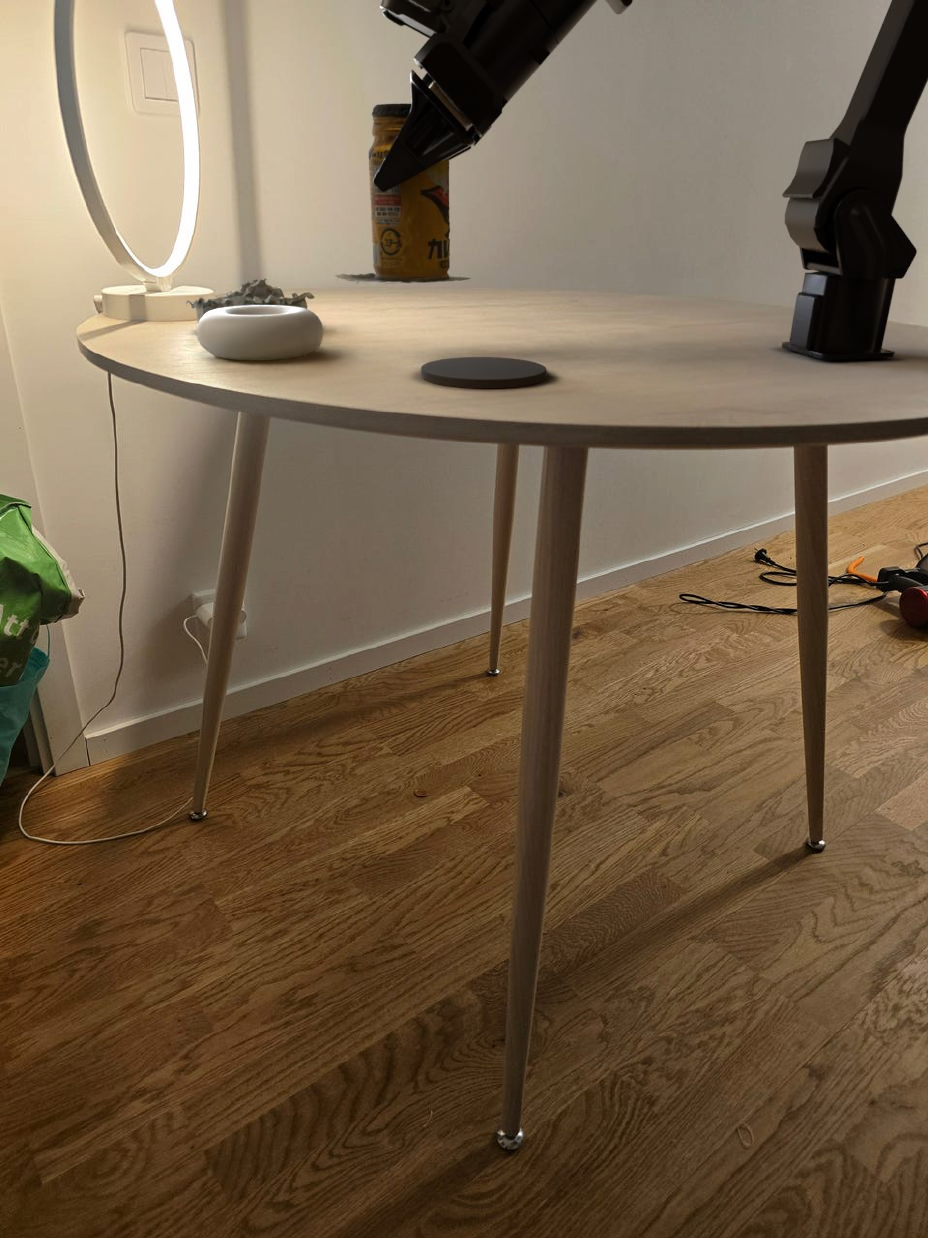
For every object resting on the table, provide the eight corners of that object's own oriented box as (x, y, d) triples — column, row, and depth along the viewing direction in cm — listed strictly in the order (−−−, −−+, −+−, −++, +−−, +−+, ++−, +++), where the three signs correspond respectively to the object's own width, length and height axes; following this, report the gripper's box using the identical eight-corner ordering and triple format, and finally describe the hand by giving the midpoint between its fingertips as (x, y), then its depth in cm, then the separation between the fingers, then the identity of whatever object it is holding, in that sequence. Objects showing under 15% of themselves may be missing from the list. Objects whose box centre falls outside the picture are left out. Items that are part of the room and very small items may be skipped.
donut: (241, 342, 77) (172, 358, 69) (238, 300, 76) (167, 311, 67) (345, 349, 74) (287, 366, 66) (343, 306, 73) (283, 318, 64)
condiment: (471, 280, 69) (472, 103, 64) (376, 287, 65) (368, 97, 59) (423, 273, 74) (419, 109, 69) (332, 279, 70) (321, 105, 65)
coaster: (524, 362, 68) (524, 354, 68) (564, 385, 61) (564, 376, 60) (410, 366, 66) (410, 358, 66) (435, 391, 59) (435, 381, 58)
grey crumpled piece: (270, 320, 90) (266, 277, 88) (323, 327, 86) (321, 281, 84) (183, 331, 82) (178, 284, 80) (238, 339, 78) (233, 289, 76)
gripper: (447, -55, 68) (315, 110, 73) (448, -135, 51) (276, 87, 56) (545, 65, 72) (413, 215, 76) (576, 27, 55) (404, 222, 60)
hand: (380, 187), depth 67 cm, fingers closed on condiment, 6 cm apart
